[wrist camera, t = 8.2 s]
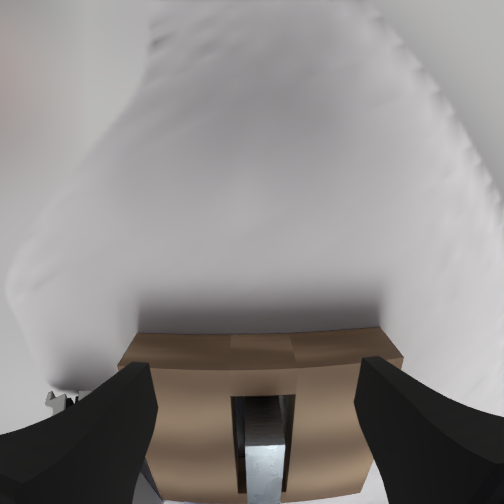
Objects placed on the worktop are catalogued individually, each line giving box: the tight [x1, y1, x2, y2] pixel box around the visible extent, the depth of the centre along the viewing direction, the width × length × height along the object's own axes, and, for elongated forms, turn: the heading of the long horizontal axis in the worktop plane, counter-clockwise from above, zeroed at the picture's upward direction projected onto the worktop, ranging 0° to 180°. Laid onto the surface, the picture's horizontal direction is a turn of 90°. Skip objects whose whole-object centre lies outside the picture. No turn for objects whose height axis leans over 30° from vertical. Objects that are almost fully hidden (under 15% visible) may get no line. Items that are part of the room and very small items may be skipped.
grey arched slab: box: [45, 390, 164, 504], centre depth 19 cm, size 17×5×10 cm, turn 11°
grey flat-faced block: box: [245, 395, 285, 504], centre depth 18 cm, size 8×2×7 cm, turn 1°
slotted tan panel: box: [117, 327, 404, 504], centre depth 20 cm, size 14×16×4 cm
